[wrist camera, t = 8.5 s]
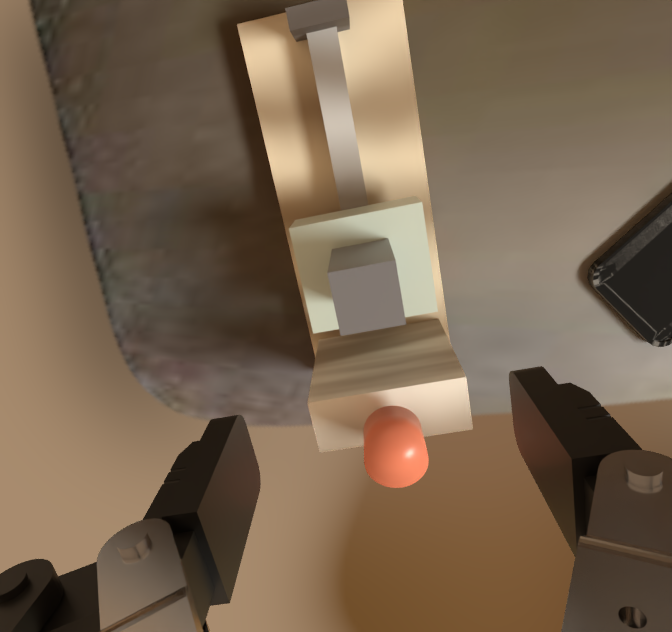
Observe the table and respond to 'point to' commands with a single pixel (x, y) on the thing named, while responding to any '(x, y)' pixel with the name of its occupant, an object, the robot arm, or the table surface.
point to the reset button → (394, 447)
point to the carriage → (365, 266)
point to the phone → (641, 276)
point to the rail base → (371, 114)
